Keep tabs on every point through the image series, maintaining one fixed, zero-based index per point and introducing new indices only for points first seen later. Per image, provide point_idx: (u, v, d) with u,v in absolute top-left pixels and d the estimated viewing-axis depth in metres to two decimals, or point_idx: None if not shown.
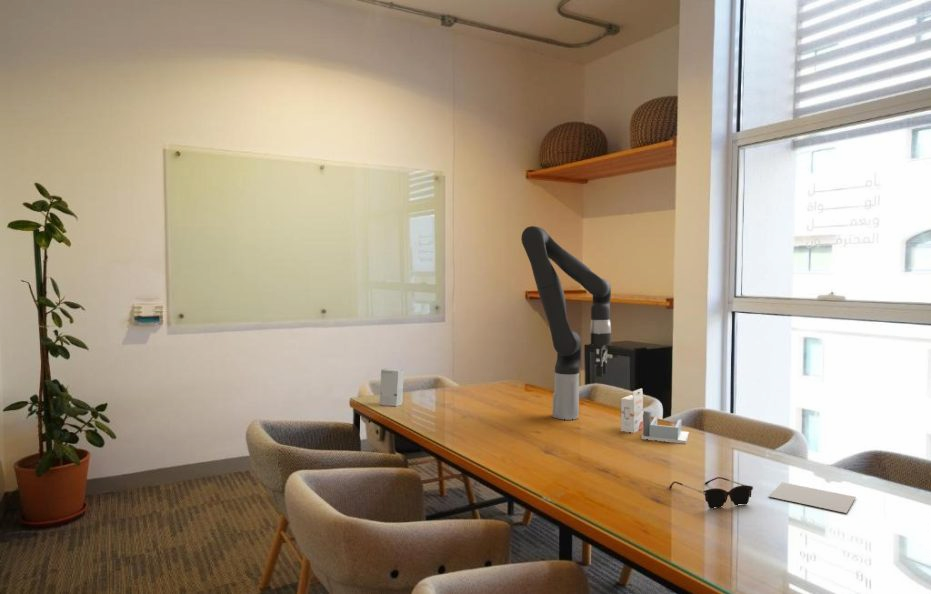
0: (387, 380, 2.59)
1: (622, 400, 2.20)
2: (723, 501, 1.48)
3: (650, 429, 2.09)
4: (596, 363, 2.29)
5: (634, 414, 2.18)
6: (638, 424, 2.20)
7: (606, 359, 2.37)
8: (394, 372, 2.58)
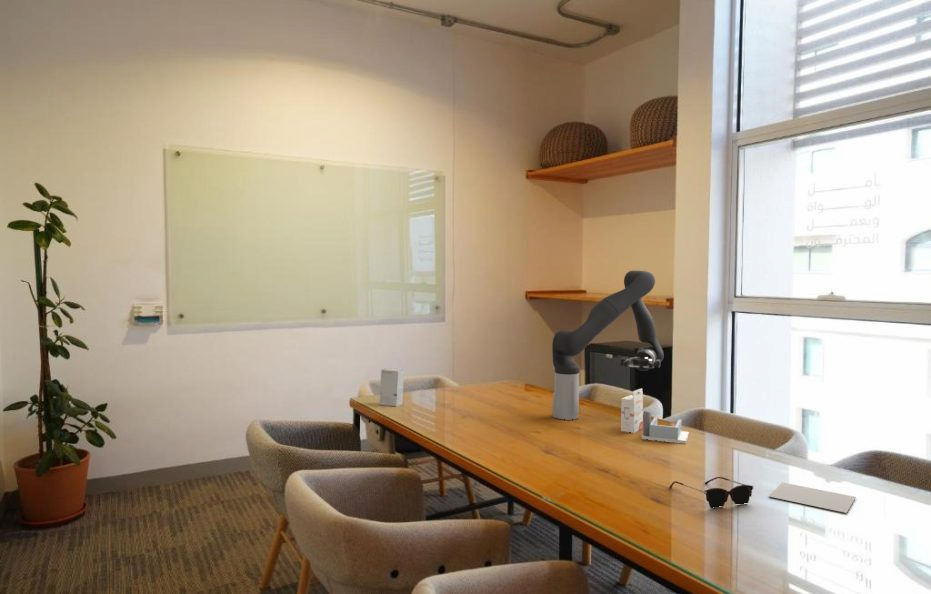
0: (387, 380, 2.59)
1: (622, 400, 2.20)
2: (724, 501, 1.48)
3: (650, 429, 2.09)
4: (659, 363, 2.33)
5: (634, 414, 2.18)
6: (638, 424, 2.20)
7: (631, 366, 2.38)
8: (394, 372, 2.58)
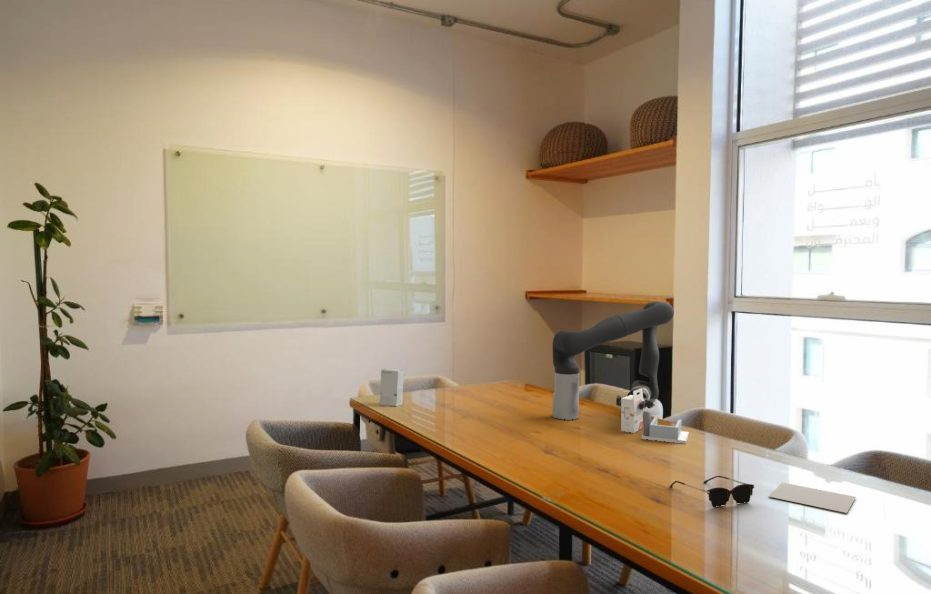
0: (387, 380, 2.59)
1: (622, 400, 2.20)
2: (726, 500, 1.49)
3: (650, 429, 2.09)
4: (650, 403, 2.22)
5: (634, 414, 2.18)
6: (638, 424, 2.20)
7: None
8: (394, 372, 2.58)
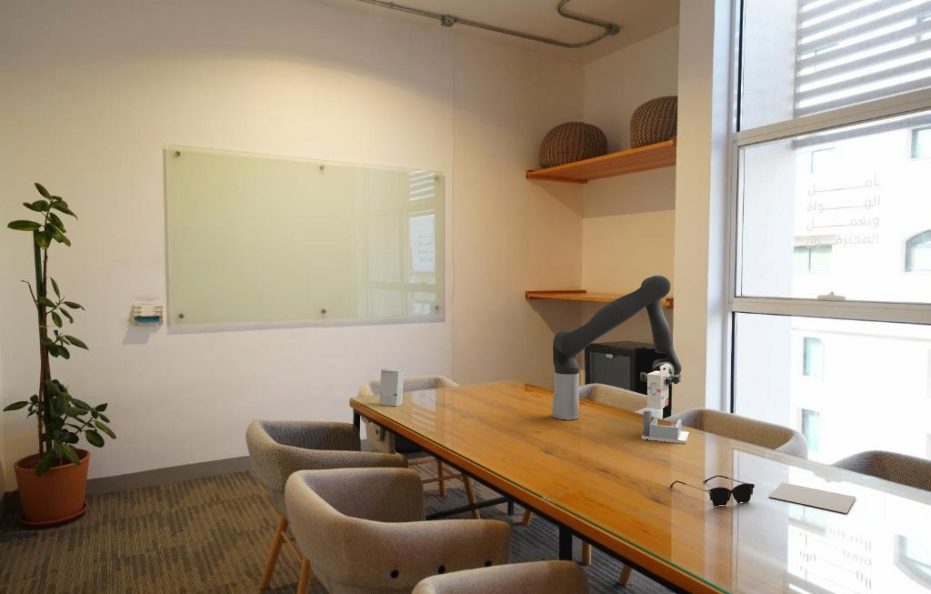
0: (387, 380, 2.59)
1: (648, 376, 2.14)
2: (727, 499, 1.49)
3: (650, 429, 2.09)
4: (677, 378, 2.16)
5: (661, 390, 2.12)
6: (664, 400, 2.15)
7: None
8: (394, 372, 2.58)
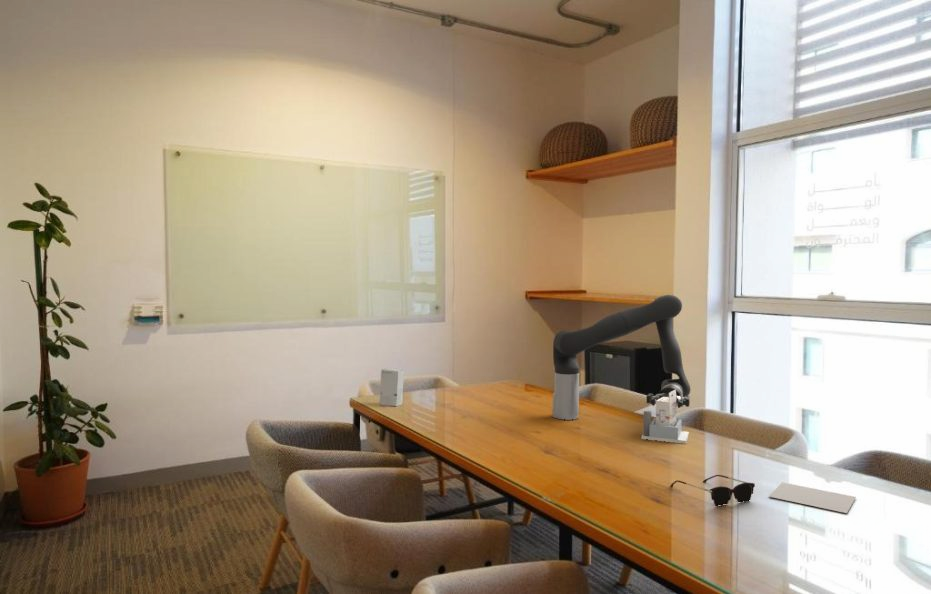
0: (387, 380, 2.59)
1: (657, 402, 2.11)
2: (728, 499, 1.50)
3: (650, 429, 2.09)
4: (689, 401, 2.14)
5: (670, 417, 2.10)
6: None
7: None
8: (394, 372, 2.58)
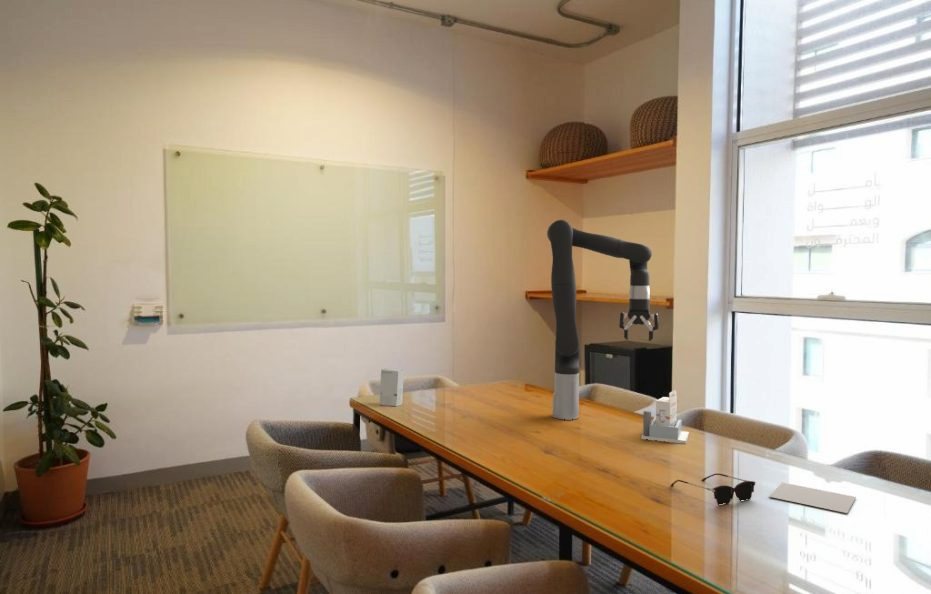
0: (387, 380, 2.59)
1: (657, 402, 2.11)
2: (730, 497, 1.51)
3: (650, 429, 2.09)
4: (657, 327, 2.35)
5: (670, 417, 2.10)
6: None
7: None
8: (394, 372, 2.58)
